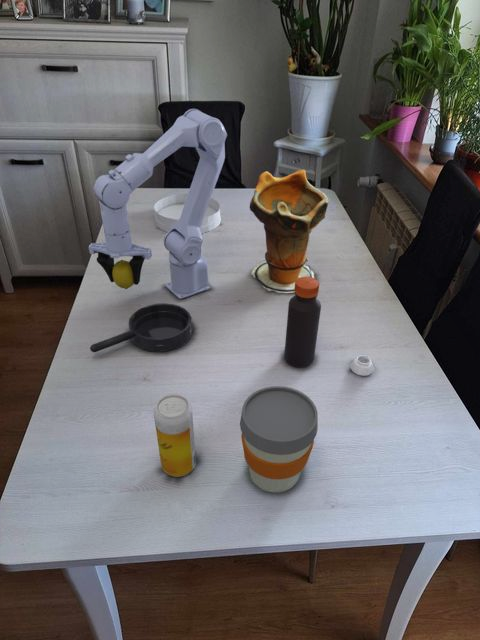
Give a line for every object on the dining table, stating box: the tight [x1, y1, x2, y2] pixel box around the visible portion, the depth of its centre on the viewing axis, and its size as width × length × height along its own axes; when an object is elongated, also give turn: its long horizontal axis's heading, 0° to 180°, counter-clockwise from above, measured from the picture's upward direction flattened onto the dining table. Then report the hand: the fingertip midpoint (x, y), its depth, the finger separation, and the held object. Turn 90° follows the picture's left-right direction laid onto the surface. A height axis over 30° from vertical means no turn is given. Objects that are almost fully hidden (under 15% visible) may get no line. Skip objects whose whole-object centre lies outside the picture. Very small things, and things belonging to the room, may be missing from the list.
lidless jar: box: [349, 354, 375, 377], centre depth 108 cm, size 5×3×5 cm
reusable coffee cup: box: [239, 385, 319, 493], centre depth 81 cm, size 13×13×15 cm
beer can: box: [153, 393, 197, 478], centre depth 82 cm, size 6×6×15 cm
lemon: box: [112, 259, 135, 290], centre depth 119 cm, size 6×6×8 cm
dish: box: [153, 193, 221, 235], centre depth 164 cm, size 22×22×5 cm
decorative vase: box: [249, 169, 330, 294], centre depth 129 cm, size 21×23×28 cm
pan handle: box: [89, 330, 134, 353], centre depth 108 cm, size 10×2×2 cm, turn 128°
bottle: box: [283, 277, 322, 368], centre depth 104 cm, size 7×7×20 cm
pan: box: [128, 302, 193, 352], centre depth 115 cm, size 14×14×4 cm
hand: (125, 281), depth 120 cm, fingers closed on lemon, 5 cm apart
